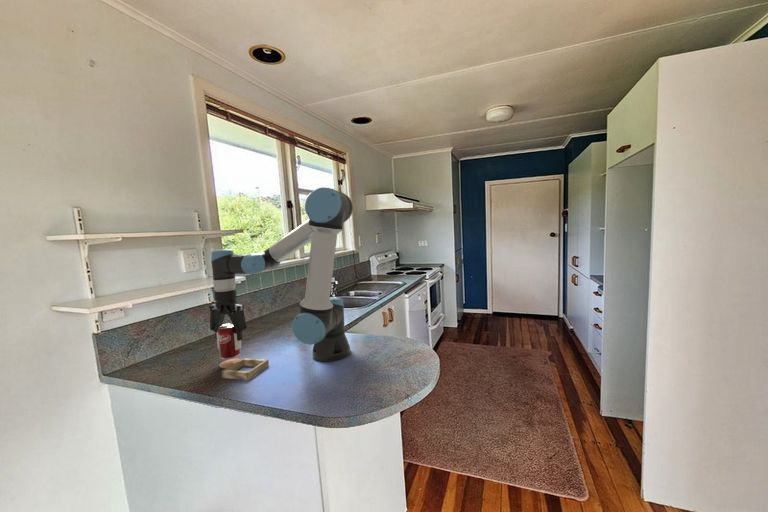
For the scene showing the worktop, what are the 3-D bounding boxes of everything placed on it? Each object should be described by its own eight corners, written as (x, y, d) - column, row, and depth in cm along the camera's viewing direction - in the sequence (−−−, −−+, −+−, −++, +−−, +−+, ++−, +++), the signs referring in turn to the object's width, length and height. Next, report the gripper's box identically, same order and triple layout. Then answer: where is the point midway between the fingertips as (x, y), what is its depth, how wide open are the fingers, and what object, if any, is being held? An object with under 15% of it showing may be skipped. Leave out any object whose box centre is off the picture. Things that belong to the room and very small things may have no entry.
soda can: (226, 361, 113) (224, 329, 112) (215, 357, 117) (213, 327, 116) (244, 354, 119) (242, 324, 118) (233, 351, 123) (231, 322, 122)
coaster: (247, 360, 121) (247, 358, 121) (232, 368, 113) (232, 367, 113) (230, 359, 123) (229, 357, 123) (214, 367, 115) (214, 366, 115)
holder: (268, 366, 114) (268, 359, 114) (249, 380, 104) (248, 373, 103) (243, 364, 117) (243, 358, 117) (222, 377, 106) (221, 371, 106)
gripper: (254, 288, 117) (258, 345, 119) (210, 287, 122) (215, 343, 124) (241, 291, 110) (245, 353, 112) (195, 291, 115) (200, 350, 116)
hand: (229, 348), depth 118 cm, fingers closed on soda can, 7 cm apart
